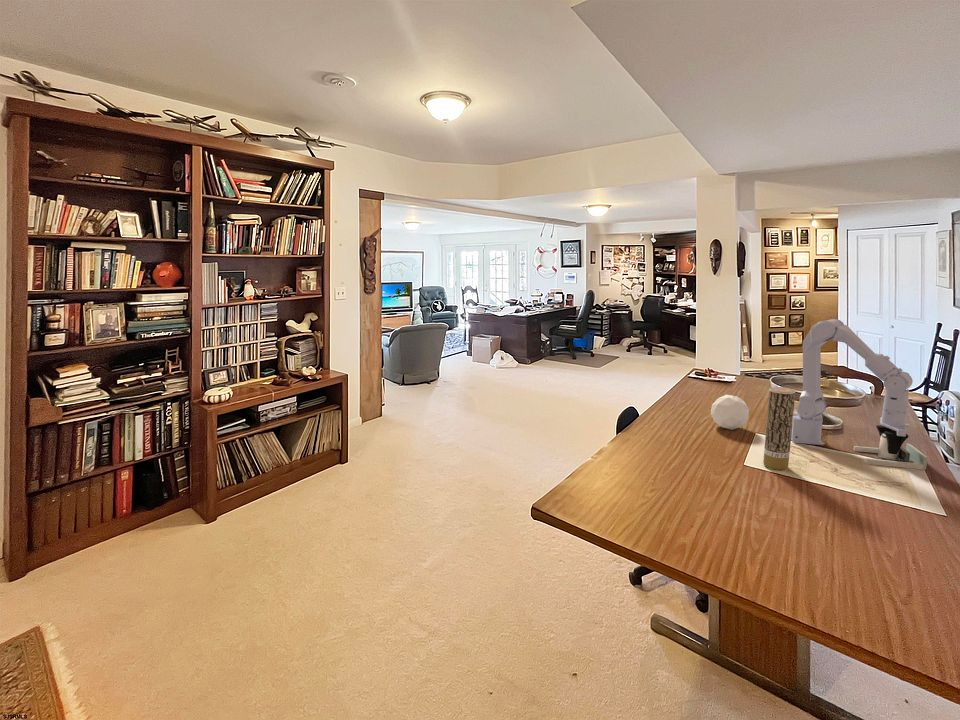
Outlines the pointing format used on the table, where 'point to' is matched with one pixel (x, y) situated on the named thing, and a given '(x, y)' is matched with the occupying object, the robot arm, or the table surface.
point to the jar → (886, 449)
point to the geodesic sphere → (729, 412)
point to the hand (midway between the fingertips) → (889, 450)
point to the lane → (915, 456)
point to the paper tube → (779, 428)
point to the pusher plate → (903, 455)
